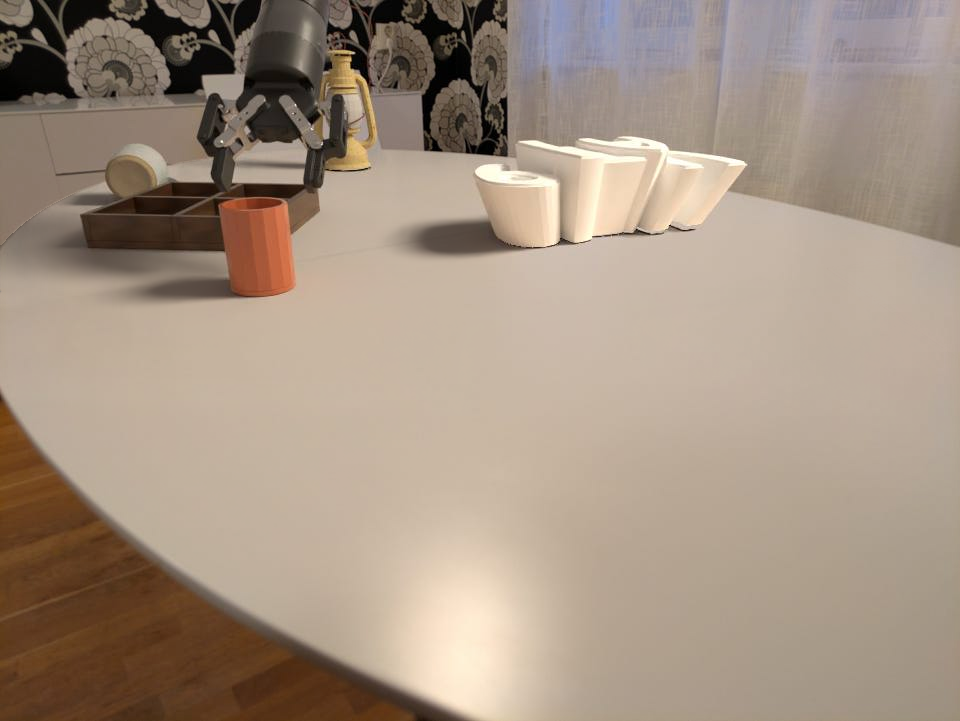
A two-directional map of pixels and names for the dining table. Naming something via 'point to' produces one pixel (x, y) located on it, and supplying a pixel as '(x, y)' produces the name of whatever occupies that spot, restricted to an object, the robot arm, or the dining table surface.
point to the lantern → (349, 107)
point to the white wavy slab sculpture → (600, 189)
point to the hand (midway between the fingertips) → (265, 188)
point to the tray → (184, 215)
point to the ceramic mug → (136, 170)
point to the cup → (258, 245)
